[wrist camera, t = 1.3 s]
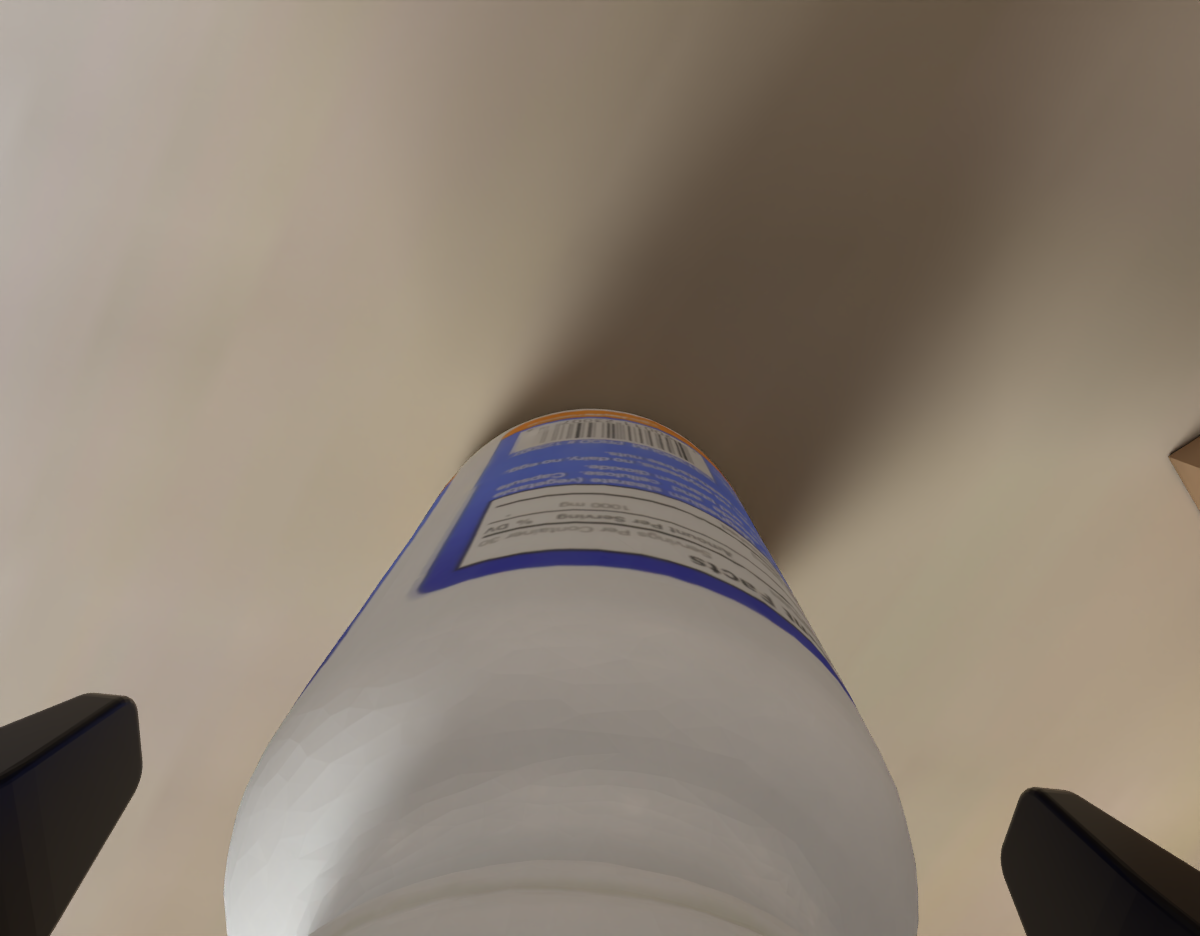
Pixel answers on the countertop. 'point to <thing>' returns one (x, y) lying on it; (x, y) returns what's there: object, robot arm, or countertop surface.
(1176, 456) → the walnut picture frame
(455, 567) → the pill bottle
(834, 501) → the countertop surface
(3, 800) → the robot arm
